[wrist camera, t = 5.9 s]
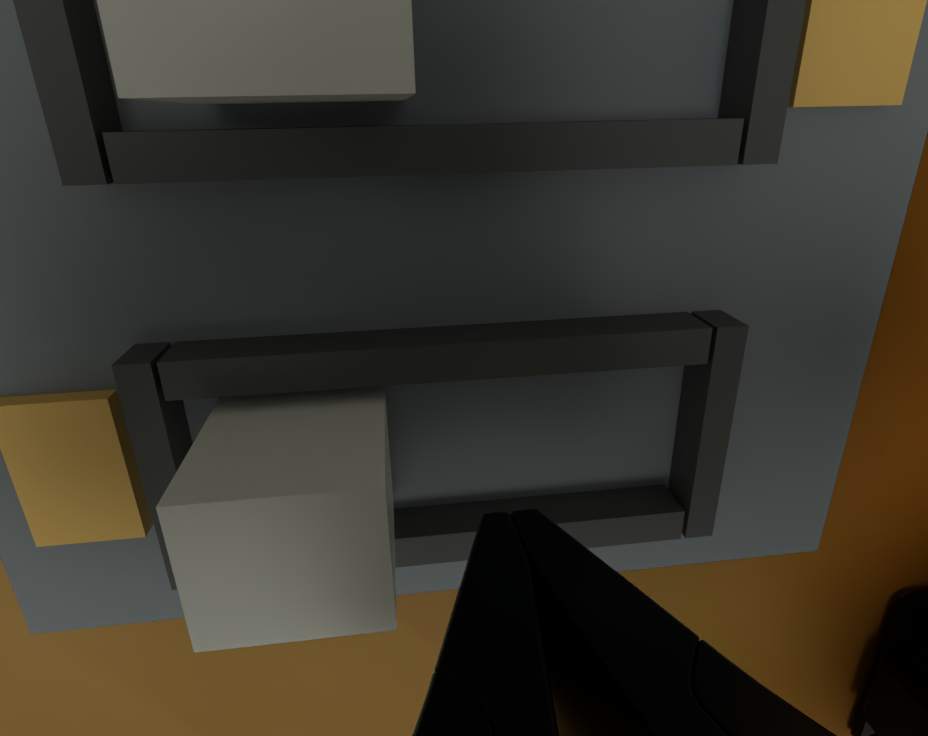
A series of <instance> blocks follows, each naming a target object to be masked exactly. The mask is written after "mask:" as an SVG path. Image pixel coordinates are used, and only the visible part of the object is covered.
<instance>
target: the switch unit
mask: <svg viewBox="0 0 928 736" xmlns="http://www.w3.org/2000/svg"><path fill="white" fill-rule="evenodd" d="M411 3H412V24H413V46H414V68H415V90H416V93H415V94H414V95H413V96H411V97H410V98H409V99H407V100H406V101H405V102H349V103H293V104H237V105H204V104H190V103H177V102H163V101H149V100H136V99H122V98H118V95H117V90H116V86H115V81H114V77H113V72H112V68H111V63H110V59H109V54H108V50H107V45H106V41H105V36H104V32H103V27H102V23H101V18H100V14H99V9H98V5H97V0H0V558H1V560H2V563H3V565H4V567H5V570H6V572H7V575H8V577H9V580H10V582H11V585H12V587H13V590H14V592H15V595H16V597H17V600H18V602H19V605H20V607H21V610H22V612H23V615H24V617H25V620H26V622H27V625H28V627H29V630H30V632H31V634H35V633H45V632H54V631H64V630H73V629H83V628H92V627H101V626H111V625H120V624H130V623H139V622H149V621H158V620H167V619H177V618H185V616H184V612H183V608H182V605H181V601H180V597H179V593H178V589H177V586H176V582H175V578H174V574H173V570H172V567H171V563H170V559H169V555H168V552H167V548H166V544H165V540H164V536H163V533H162V529H161V525H160V521H159V517H158V514H157V510H156V506H157V504H158V503H159V501H160V499H161V498H162V496H163V494H164V492H165V491H166V489H167V487H168V486H169V484H170V482H171V480H172V479H173V477H174V475H175V474H176V472H177V470H178V468H179V467H180V465H181V463H182V462H183V460H184V458H185V456H186V455H187V453H188V451H189V450H190V448H191V446H192V444H193V443H194V441H195V439H196V438H197V436H198V434H199V432H200V431H201V429H202V427H203V426H204V424H205V422H206V420H207V419H208V417H209V415H210V413H211V412H212V410H213V408H214V407H215V405H216V403H217V401H218V400H219V398H220V397H233V396H247V395H262V394H277V393H291V392H306V391H320V390H335V389H350V388H364V387H379V386H385V396H386V409H387V422H388V435H389V448H390V461H391V474H392V487H393V503H394V539H395V575H396V595H403V594H413V593H422V592H432V591H441V590H450V589H459V588H460V584H461V581H462V578H463V574H464V571H465V568H466V565H467V561H468V558H469V555H470V551H471V548H472V545H473V541H474V538H475V535H476V532H477V528H478V525H479V522H480V518H481V516H482V514H483V513H485V512H493V511H507V512H509V514H510V512H511V511H512V510H515V509H525V508H536V509H538V510H539V511H540V512H542V513H543V514H544V515H546V516H547V517H548V518H549V519H551V520H552V521H553V522H554V523H556V524H557V525H558V526H559V527H561V528H562V529H563V530H565V531H566V532H567V533H568V534H570V535H571V536H572V537H573V538H575V539H576V540H577V541H578V542H580V543H581V544H582V545H584V546H585V547H586V548H587V549H589V550H590V551H591V552H592V553H594V554H595V555H596V556H597V557H599V558H600V559H601V560H603V561H604V562H605V563H606V564H608V565H609V566H610V567H611V568H613V569H614V570H615V571H616V572H620V571H630V570H639V569H648V568H658V567H667V566H677V565H686V564H696V563H705V562H714V561H724V560H733V559H743V558H752V557H762V556H771V555H780V554H790V553H799V552H809V551H817V550H818V547H819V543H820V539H821V535H822V531H823V528H824V524H825V520H826V516H827V512H828V509H829V505H830V501H831V497H832V493H833V490H834V486H835V482H836V478H837V474H838V471H839V467H840V463H841V459H842V455H843V452H844V448H845V444H846V440H847V436H848V433H849V429H850V425H851V421H852V417H853V413H854V410H855V406H856V402H857V398H858V394H859V391H860V387H861V383H862V379H863V375H864V372H865V368H866V364H867V360H868V356H869V353H870V349H871V345H872V341H873V337H874V334H875V330H876V326H877V322H878V318H879V315H880V311H881V307H882V303H883V299H884V296H885V292H886V288H887V284H888V280H889V277H890V273H891V269H892V265H893V261H894V258H895V254H896V250H897V246H898V242H899V239H900V235H901V231H902V227H903V223H904V220H905V216H906V212H907V208H908V204H909V201H910V197H911V193H912V189H913V185H914V181H915V178H916V174H917V170H918V166H919V162H920V159H921V155H922V151H923V147H924V143H925V140H926V136H927V132H928V0H411Z"/></svg>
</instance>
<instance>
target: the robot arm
mask: <svg viewBox="0 0 928 736" xmlns="http://www.w3.org/2000/svg"><path fill="white" fill-rule="evenodd" d="M851 734H852V736H928V591H924V592H916V593H910V594H906V595H904V596H902V597H901V598H899V599H898V600H897V601H896V602H895V604H894V605H893V607H892V610H891V613H890V616H889V619H888V622H887V625H886V628H885V631H884V634H883V637H882V640H881V643H880V645H879V648H878V651H877V654H876V657H875V660H874V663H873V666H872V669H871V672H870V675H869V678H868V681H867V684H866V687H865V690H864V693H863V696H862V699H861V701H860V704H859V707H858V710H857V713H856V716H855V719H854V722H853V725H852V728H851ZM412 736H836V735H835V734H833V733H832V732H830V731H829V730H827V729H826V728H824V727H823V726H821V725H820V724H818V723H817V722H815V721H814V720H812V719H811V718H809V717H808V716H806V715H805V714H803V713H802V712H800V711H799V710H798V709H796V708H795V707H793V706H792V705H790V704H789V703H787V702H786V701H785V700H783V699H782V698H780V697H779V696H777V695H776V694H774V693H773V692H771V691H770V690H769V689H767V688H766V687H764V686H763V685H761V684H760V683H759V682H757V681H756V680H755V679H753V678H752V677H751V676H749V675H748V674H747V673H746V672H744V671H743V670H742V669H740V668H739V667H738V666H736V665H735V664H734V663H732V662H731V661H730V660H728V659H727V658H726V657H724V656H723V655H722V654H721V653H719V652H718V651H717V650H715V649H714V648H713V647H712V646H710V645H709V644H708V643H707V642H705V641H704V640H700V641H699V637H698V636H697V635H696V634H695V633H694V632H692V631H691V630H690V629H689V628H687V627H686V626H685V625H684V624H682V623H681V622H680V621H678V620H677V619H676V618H675V617H673V616H672V615H671V614H670V613H668V612H667V611H666V610H665V609H663V608H662V607H661V606H659V605H658V604H657V603H656V602H654V601H653V600H652V599H651V598H649V597H648V596H647V595H646V594H644V593H643V592H642V591H640V590H639V589H638V588H637V587H635V586H634V585H633V584H632V583H630V582H629V581H628V580H627V579H625V578H624V577H623V576H621V575H620V574H619V573H618V572H616V571H615V570H614V569H613V568H611V567H610V566H609V565H608V564H606V563H605V562H604V561H603V560H601V559H600V558H599V557H597V556H596V555H595V554H594V553H592V552H591V551H590V550H589V549H587V548H586V547H585V546H584V545H582V544H581V543H580V542H578V541H577V540H576V539H575V538H573V537H572V536H571V535H570V534H568V533H567V532H566V531H565V530H563V529H562V528H561V527H559V526H558V525H557V524H556V523H554V522H553V521H552V520H551V519H549V518H548V517H547V516H546V515H544V514H543V513H542V512H540V511H539V510H538V509H536V508H525V509H515V510H512V511H511V512H510V514H509V512H507V511H493V512H485V513H483V514H482V516H481V518H480V522H479V525H478V528H477V532H476V535H475V538H474V541H473V545H472V548H471V551H470V555H469V558H468V561H467V565H466V568H465V571H464V574H463V578H462V581H461V584H460V588H459V591H458V594H457V598H456V601H455V604H454V607H453V611H452V614H451V617H450V621H449V624H448V627H447V631H446V634H445V637H444V640H443V644H442V647H441V650H440V654H439V657H438V660H437V664H436V667H435V673H434V674H433V676H432V679H431V682H430V685H429V689H428V692H427V695H426V698H425V701H424V704H423V707H422V710H421V713H420V716H419V718H418V721H417V724H416V727H415V730H414V733H413V735H412Z"/></svg>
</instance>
